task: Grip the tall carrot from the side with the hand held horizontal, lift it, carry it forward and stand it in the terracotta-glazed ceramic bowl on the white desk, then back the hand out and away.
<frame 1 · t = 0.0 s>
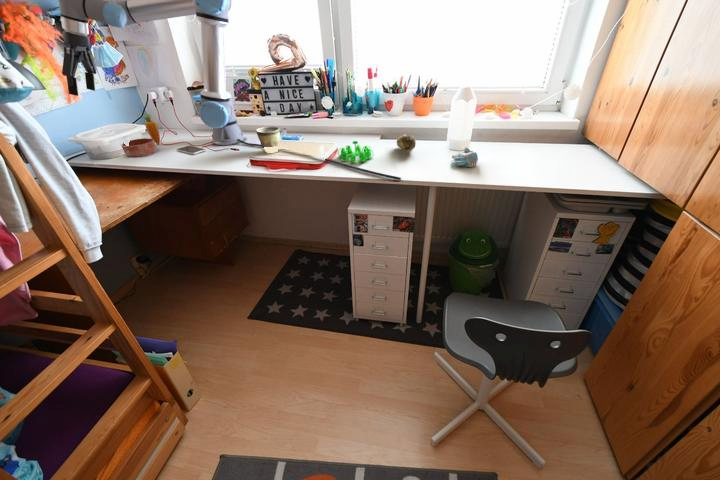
hand: (82, 92, 131), 28 cm above the table, tool tilted 20°, fingers open, 13 cm apart
ceramic cup: (272, 151, 149), on the table
chandelier: (355, 158, 136), on the table
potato: (405, 152, 141), on the table
carrot: (158, 145, 163), on the table
bowl: (141, 152, 153), on the table
stuffed animal: (463, 164, 126), on the table
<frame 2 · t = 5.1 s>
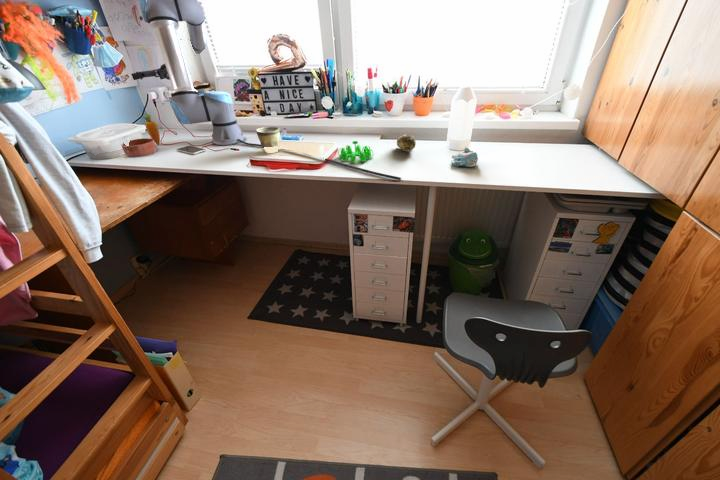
hand: (146, 76, 154), 30 cm above the table, tool horizontal, fingers open, 13 cm apart
nothing on the table moved.
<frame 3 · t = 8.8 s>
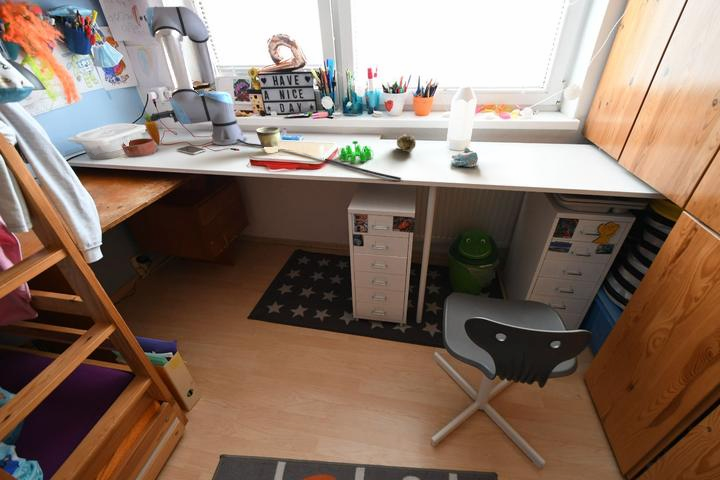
hand: (161, 119, 165), 10 cm above the table, tool horizontal, fingers open, 13 cm apart
nothing on the table moved.
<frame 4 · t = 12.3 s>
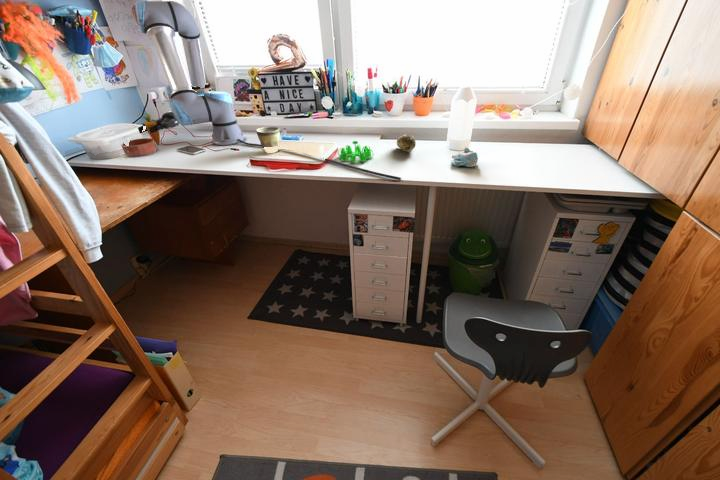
hand: (145, 130, 154), 8 cm above the table, tool horizontal, fingers closed on carrot, 5 cm apart
carrot: (158, 145, 163), on the table, touching gripper
everything else where it was.
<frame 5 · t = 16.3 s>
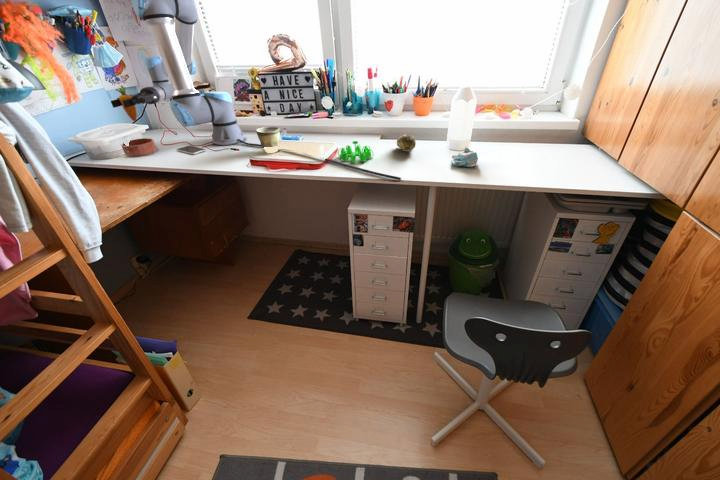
hand: (118, 104, 139), 22 cm above the table, tool horizontal, fingers closed on carrot, 5 cm apart
carrot: (135, 121, 148), point 13 cm above the table, touching gripper
everything else where it was.
when the fingers open (9 cm above the table, at t = 20.5 s): carrot stays where it is, resting on bowl.
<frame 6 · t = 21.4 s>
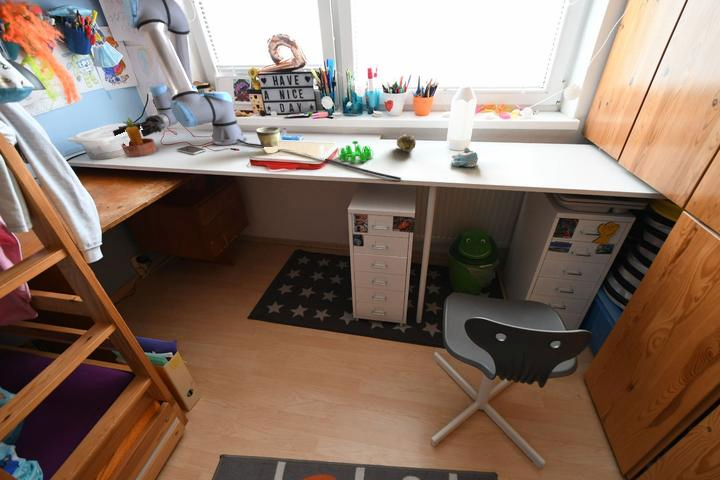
hand: (128, 133, 145), 10 cm above the table, tool horizontal, fingers open, 13 cm apart
carrot: (141, 151, 153), resting on bowl
everything else where it was.
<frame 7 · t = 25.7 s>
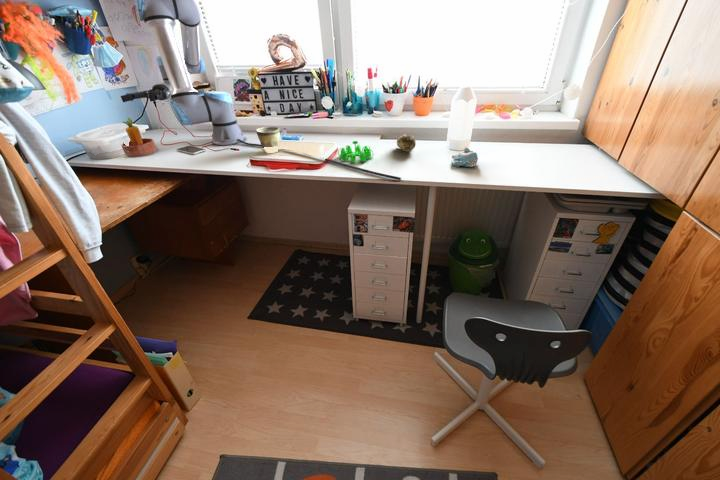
hand: (136, 98, 149), 22 cm above the table, tool horizontal, fingers open, 13 cm apart
nothing on the table moved.
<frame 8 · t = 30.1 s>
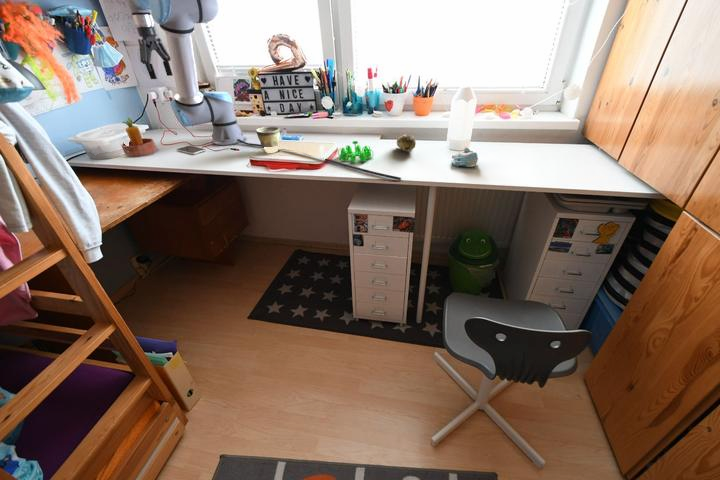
hand: (162, 77, 161), 29 cm above the table, tool pointing down, fingers open, 13 cm apart
nothing on the table moved.
at the end: carrot inside the target area in the bowl (0.1 cm from its centre), point 0.4 cm above the bowl's base; the gripper is holding nothing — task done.
